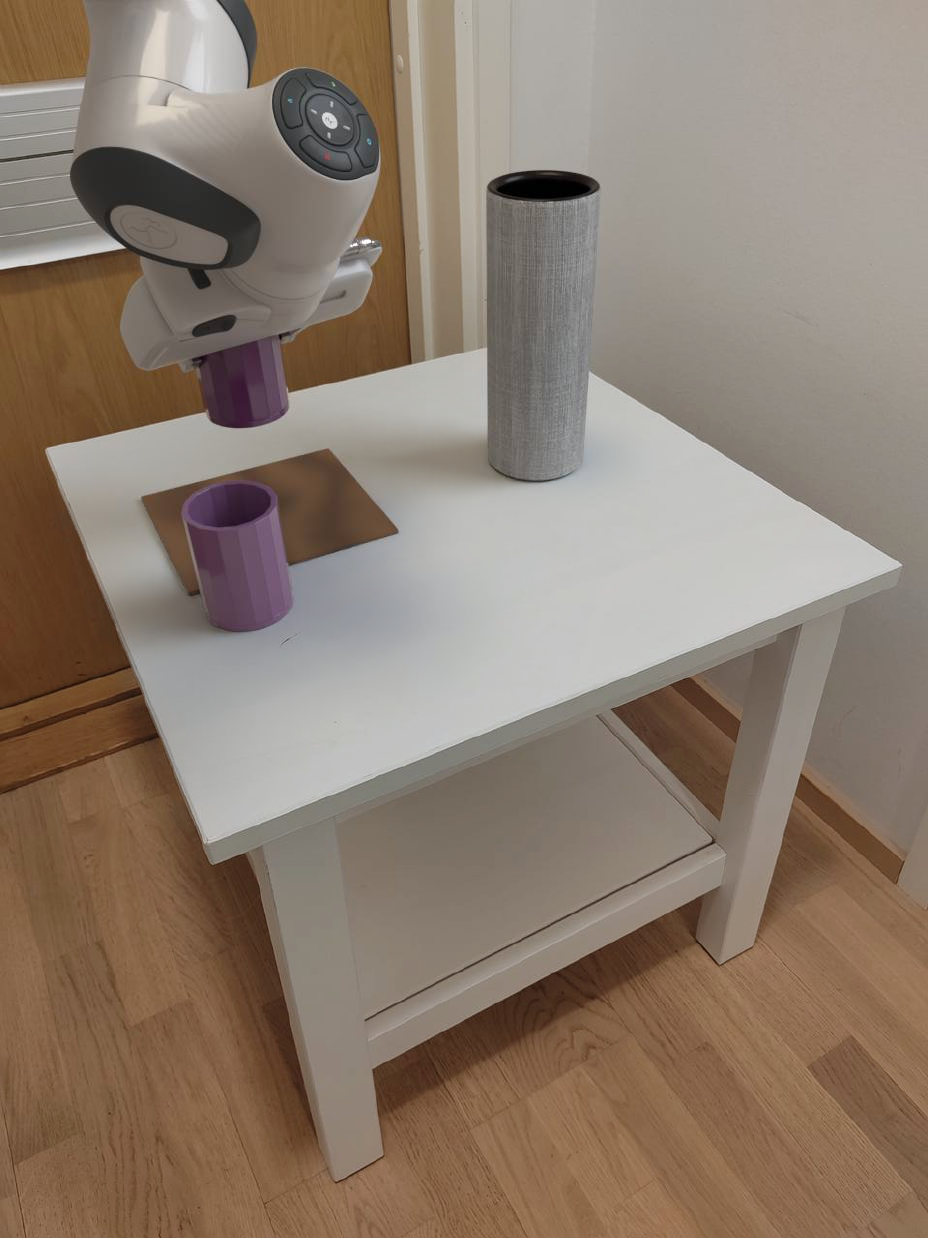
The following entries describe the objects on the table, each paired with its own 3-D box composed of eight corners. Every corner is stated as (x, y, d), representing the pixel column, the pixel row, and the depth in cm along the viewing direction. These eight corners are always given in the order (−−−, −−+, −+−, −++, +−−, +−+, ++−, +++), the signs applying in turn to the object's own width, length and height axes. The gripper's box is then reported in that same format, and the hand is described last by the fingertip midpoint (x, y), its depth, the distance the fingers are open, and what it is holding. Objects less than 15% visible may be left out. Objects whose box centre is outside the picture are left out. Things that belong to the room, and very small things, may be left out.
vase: (547, 427, 105) (557, 163, 89) (602, 465, 99) (624, 187, 82) (470, 451, 102) (465, 180, 85) (521, 492, 95) (527, 207, 78)
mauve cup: (190, 624, 80) (164, 523, 73) (230, 573, 85) (208, 475, 79) (271, 637, 78) (252, 536, 72) (306, 585, 84) (291, 486, 77)
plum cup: (191, 423, 83) (166, 311, 77) (229, 387, 89) (208, 280, 83) (268, 432, 82) (249, 318, 76) (302, 395, 87) (287, 286, 81)
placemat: (189, 595, 83) (188, 592, 82) (141, 499, 95) (140, 496, 95) (398, 532, 90) (398, 529, 89) (328, 451, 102) (328, 447, 102)
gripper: (371, 198, 75) (323, 288, 87) (118, 254, 65) (105, 346, 78) (406, 270, 75) (353, 350, 87) (158, 337, 65) (138, 415, 78)
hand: (234, 349), depth 82 cm, fingers closed on plum cup, 7 cm apart
